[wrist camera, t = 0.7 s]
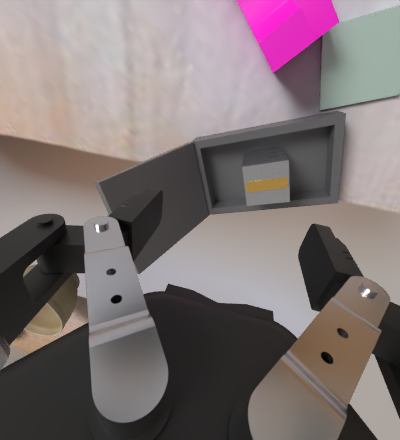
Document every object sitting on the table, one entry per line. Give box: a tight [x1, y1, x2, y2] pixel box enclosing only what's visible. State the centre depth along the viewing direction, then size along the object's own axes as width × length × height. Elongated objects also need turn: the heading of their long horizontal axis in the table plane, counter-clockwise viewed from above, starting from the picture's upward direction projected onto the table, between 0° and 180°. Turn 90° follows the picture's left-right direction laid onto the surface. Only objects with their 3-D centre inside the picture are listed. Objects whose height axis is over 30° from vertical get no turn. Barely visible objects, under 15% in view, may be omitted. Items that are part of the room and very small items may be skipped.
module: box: [242, 146, 290, 206], centre depth 29 cm, size 5×5×7 cm
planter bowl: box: [23, 265, 79, 336], centre depth 50 cm, size 16×16×11 cm
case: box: [95, 111, 346, 274], centre depth 26 cm, size 24×11×16 cm, turn 102°
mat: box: [319, 5, 400, 110], centre depth 24 cm, size 8×8×1 cm
